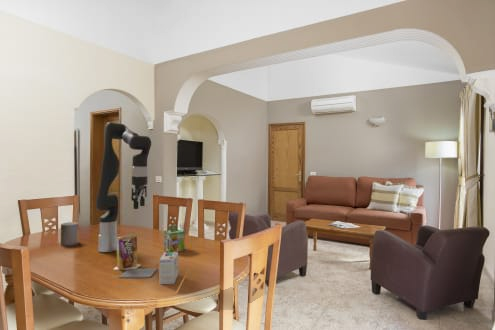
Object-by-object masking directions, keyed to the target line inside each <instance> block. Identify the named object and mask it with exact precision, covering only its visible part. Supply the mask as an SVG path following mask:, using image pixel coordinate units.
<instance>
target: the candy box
mask: <svg viewBox="0 0 495 330" xmlns="http://www.w3.org/2000/svg"><path fill="white" fill-rule="evenodd" d="M137 237H138V235H136V234H129V235H122V236H117V250H116V267H117V268H118V269H119V271H120V269H125V268H129V267H133V266H137V264H138V240H137V239H138V238H137Z"/></svg>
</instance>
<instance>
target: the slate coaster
mask: <svg viewBox="0 0 495 330" xmlns="http://www.w3.org/2000/svg"><path fill="white" fill-rule="evenodd" d="M157 271H158V269H157V268H137V269H127V270H124V271H123V273H121V274H120V276H119V278H118V279H123V278H124V279H126V278H127V279H130V278H131V279H134V278H135V279H138V278H139V279H147V278H149V279H151V278H152V276H154V274H155V273H156V272H157Z"/></svg>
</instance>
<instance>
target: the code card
mask: <svg viewBox="0 0 495 330" xmlns="http://www.w3.org/2000/svg"><path fill="white" fill-rule="evenodd" d="M140 266H141V264H139V263H137V266H133V267H129V268H125V269H120V270H121V271H122V270H124V271H126V270H127V269H139V267H140ZM112 270H113V271H118V270H119V269H118V268H117V266H115V267H114V268H113V269H112ZM120 270H119V271H120Z"/></svg>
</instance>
